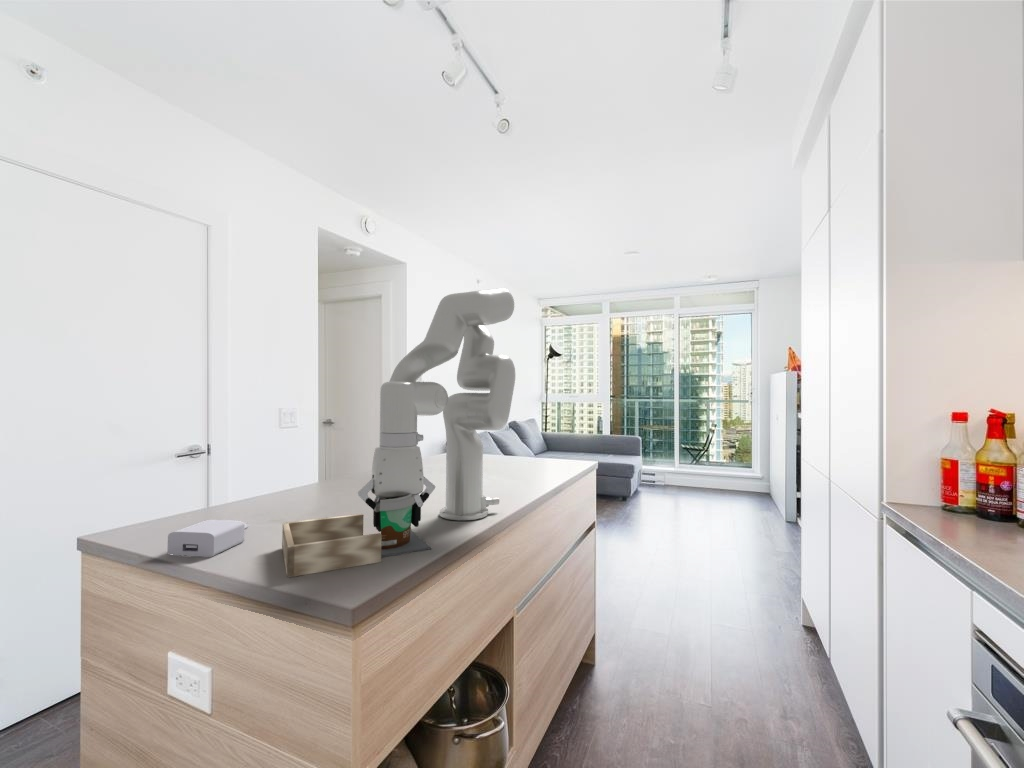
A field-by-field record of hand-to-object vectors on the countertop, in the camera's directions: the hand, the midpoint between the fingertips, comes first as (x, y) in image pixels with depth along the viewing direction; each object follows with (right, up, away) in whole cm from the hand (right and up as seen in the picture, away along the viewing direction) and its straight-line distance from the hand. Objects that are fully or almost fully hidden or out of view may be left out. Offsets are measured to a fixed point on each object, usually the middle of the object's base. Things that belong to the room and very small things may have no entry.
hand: (397, 526), depth 94 cm
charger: (-37, -4, -1) cm, 37 cm away
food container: (+1, -3, 0) cm, 3 cm away
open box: (-11, -3, -7) cm, 14 cm away
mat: (0, -4, +1) cm, 4 cm away
